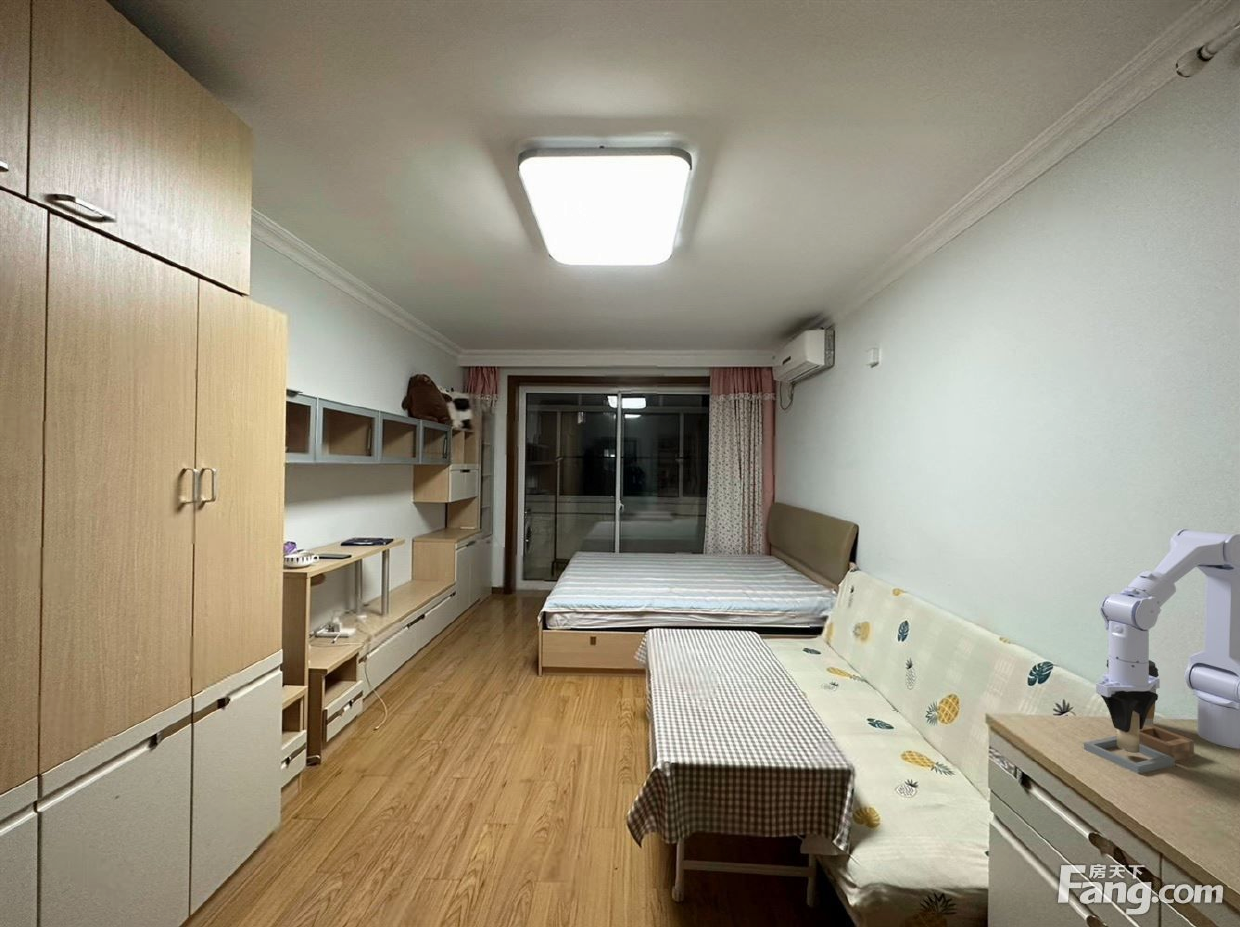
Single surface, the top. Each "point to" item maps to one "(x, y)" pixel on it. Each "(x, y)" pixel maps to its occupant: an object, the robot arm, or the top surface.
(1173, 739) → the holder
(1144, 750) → the tray
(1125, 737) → the dowel
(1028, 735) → the top surface
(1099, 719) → the top surface
